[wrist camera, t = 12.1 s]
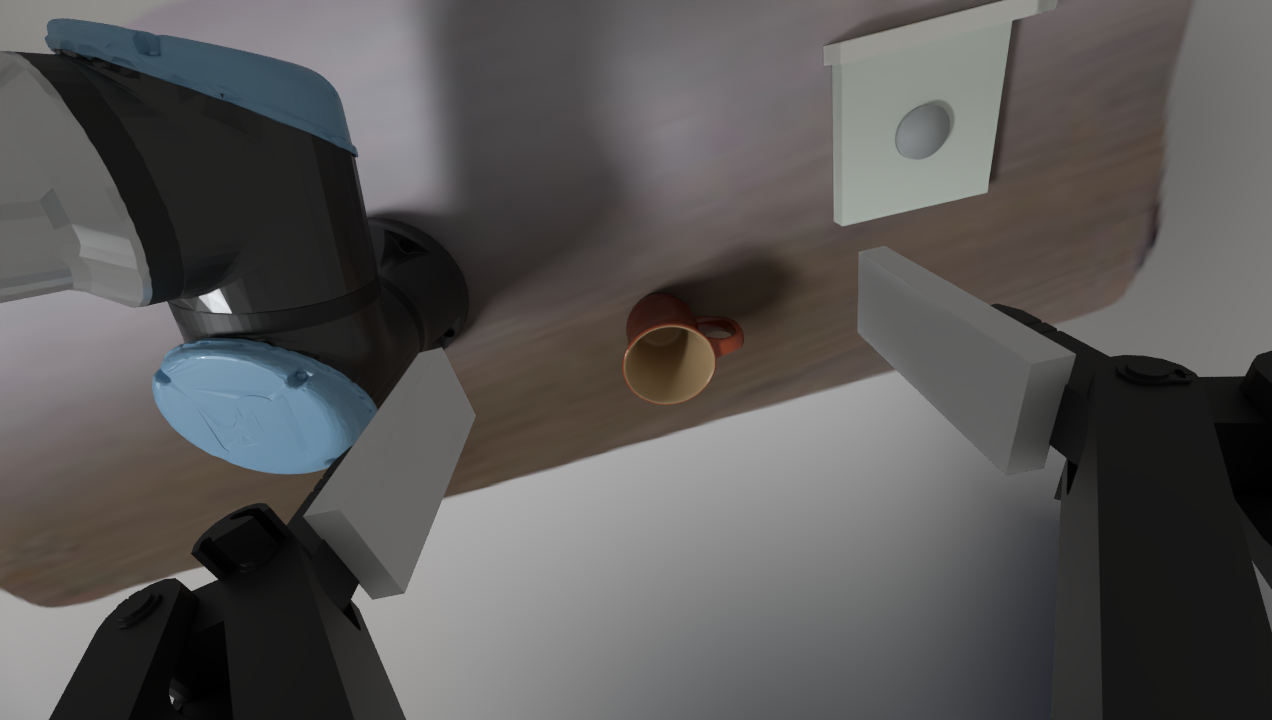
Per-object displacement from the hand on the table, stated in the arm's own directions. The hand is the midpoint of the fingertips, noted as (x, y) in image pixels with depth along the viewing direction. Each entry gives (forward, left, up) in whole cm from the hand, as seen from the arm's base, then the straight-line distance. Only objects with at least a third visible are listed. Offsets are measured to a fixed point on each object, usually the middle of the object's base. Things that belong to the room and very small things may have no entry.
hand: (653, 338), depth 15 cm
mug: (+2, -16, -35) cm, 38 cm away
